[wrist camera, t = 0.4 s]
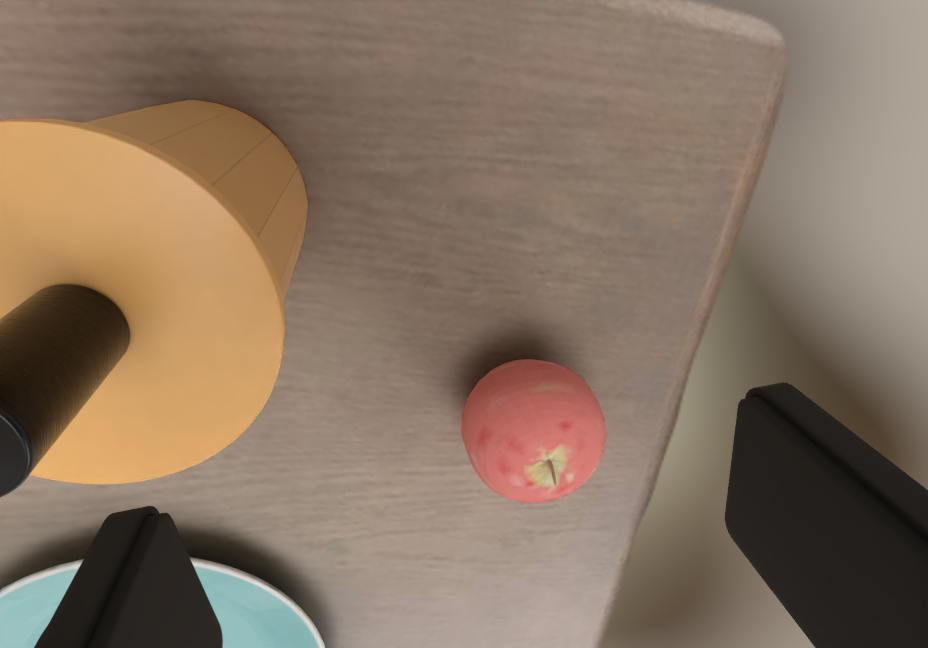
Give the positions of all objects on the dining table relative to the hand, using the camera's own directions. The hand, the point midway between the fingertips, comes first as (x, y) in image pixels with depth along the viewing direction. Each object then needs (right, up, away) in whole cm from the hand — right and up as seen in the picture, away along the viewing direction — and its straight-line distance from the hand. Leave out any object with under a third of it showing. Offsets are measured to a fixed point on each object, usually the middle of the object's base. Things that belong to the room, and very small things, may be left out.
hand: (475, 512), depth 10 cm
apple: (+3, -1, +25) cm, 25 cm away
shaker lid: (-10, +3, +5) cm, 12 cm away
